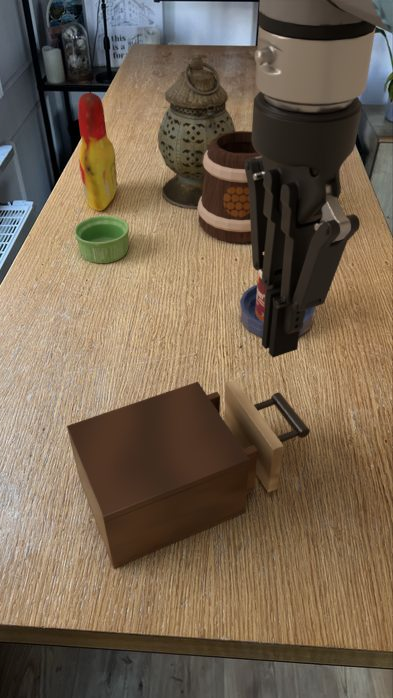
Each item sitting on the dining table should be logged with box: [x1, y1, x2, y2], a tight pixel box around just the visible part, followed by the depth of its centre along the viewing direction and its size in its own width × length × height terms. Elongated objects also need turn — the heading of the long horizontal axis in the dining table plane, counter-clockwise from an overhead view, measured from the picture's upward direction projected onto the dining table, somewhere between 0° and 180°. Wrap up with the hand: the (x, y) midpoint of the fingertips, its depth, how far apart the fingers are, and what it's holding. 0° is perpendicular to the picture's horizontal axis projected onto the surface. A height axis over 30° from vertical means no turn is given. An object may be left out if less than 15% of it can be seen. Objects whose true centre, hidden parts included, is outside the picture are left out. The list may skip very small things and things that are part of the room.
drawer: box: [207, 378, 311, 494], centre depth 63 cm, size 18×10×7 cm, turn 115°
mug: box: [197, 130, 261, 244], centre depth 101 cm, size 20×15×15 cm
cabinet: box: [66, 381, 249, 569], centre depth 60 cm, size 15×12×9 cm
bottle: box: [78, 92, 119, 211], centre depth 106 cm, size 12×6×20 cm, turn 175°
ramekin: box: [73, 214, 130, 264], centre depth 98 cm, size 9×9×4 cm
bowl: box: [239, 284, 317, 338], centre depth 85 cm, size 11×11×3 cm
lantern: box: [157, 55, 236, 210], centre depth 107 cm, size 14×14×25 cm
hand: (279, 346), depth 57 cm, fingers closed
